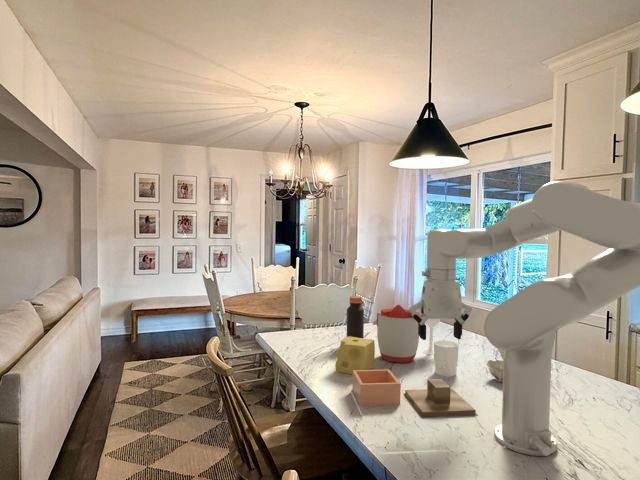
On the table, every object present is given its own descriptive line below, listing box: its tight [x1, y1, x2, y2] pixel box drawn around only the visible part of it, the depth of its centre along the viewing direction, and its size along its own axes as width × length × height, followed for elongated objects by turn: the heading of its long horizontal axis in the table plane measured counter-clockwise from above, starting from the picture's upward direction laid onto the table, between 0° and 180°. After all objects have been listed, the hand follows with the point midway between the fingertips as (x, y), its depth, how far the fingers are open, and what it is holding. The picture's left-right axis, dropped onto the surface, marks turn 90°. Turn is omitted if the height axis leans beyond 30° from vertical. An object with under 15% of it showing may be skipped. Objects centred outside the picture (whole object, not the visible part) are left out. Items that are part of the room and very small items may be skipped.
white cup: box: [433, 340, 460, 377], centre depth 135 cm, size 8×8×10 cm
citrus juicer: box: [372, 304, 421, 364], centre depth 150 cm, size 16×17×20 cm
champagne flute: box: [421, 318, 442, 356], centre depth 158 cm, size 7×7×24 cm
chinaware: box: [486, 348, 505, 383], centre depth 135 cm, size 28×17×17 cm, turn 150°
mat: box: [403, 392, 479, 419], centre depth 111 cm, size 15×15×1 cm
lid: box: [404, 378, 477, 417], centre depth 111 cm, size 14×14×6 cm
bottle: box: [346, 295, 365, 338], centre depth 165 cm, size 7×7×20 cm
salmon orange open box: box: [351, 369, 402, 407], centre depth 115 cm, size 11×11×6 cm
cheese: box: [334, 336, 376, 375], centre depth 137 cm, size 10×11×10 cm
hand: (440, 338), depth 110 cm, fingers open, 9 cm apart
